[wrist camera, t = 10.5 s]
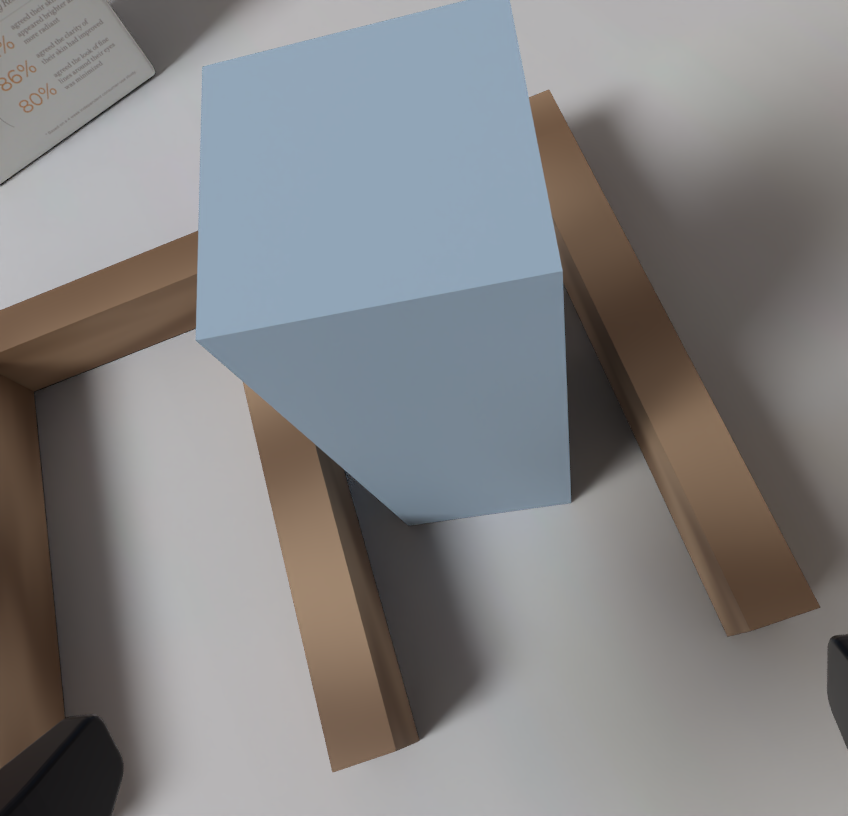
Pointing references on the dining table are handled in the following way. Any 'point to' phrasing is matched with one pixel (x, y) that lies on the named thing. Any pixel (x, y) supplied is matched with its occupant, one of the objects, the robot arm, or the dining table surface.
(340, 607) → the comb rack
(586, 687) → the dining table surface
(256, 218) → the pale blue tall block
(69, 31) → the small box
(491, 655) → the dining table surface
